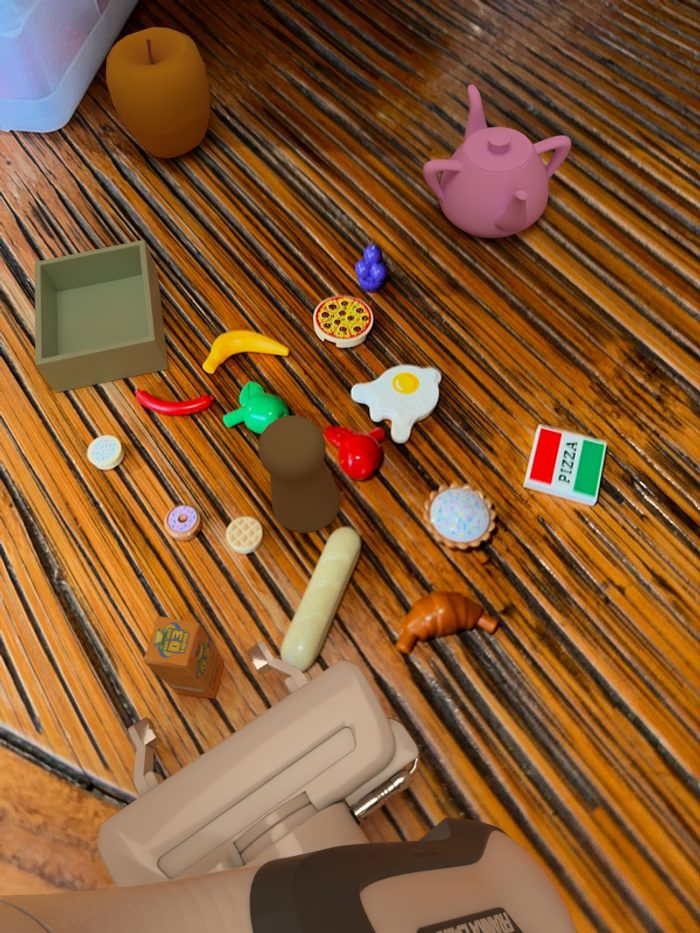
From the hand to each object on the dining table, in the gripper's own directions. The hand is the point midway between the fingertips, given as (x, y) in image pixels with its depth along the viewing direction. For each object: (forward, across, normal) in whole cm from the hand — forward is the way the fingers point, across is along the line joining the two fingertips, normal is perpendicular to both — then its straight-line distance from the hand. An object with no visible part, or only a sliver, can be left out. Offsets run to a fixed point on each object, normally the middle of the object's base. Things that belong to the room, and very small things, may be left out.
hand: (198, 684), depth 54 cm
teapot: (+29, -50, +6) cm, 58 cm away
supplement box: (+2, 0, +6) cm, 6 cm away
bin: (+39, -9, +6) cm, 40 cm away
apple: (+59, -28, +6) cm, 66 cm away
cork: (+10, -15, +6) cm, 19 cm away
